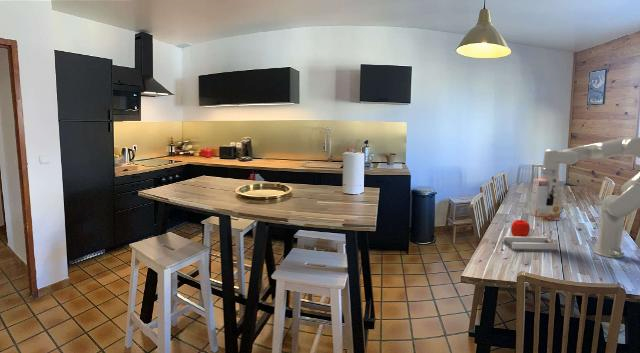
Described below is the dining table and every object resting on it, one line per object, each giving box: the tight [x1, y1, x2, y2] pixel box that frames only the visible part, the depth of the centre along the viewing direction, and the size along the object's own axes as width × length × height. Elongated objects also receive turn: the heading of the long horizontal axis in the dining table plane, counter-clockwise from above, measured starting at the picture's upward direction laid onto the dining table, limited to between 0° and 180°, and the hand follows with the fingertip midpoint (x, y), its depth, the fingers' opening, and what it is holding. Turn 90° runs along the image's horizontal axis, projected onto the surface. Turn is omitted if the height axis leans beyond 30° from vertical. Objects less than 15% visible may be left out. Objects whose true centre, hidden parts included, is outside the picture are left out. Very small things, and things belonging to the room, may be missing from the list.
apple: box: [510, 219, 531, 237], centre depth 209 cm, size 10×10×12 cm
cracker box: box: [529, 178, 565, 218], centre depth 197 cm, size 14×6×21 cm, turn 90°
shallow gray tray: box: [502, 235, 559, 252], centre depth 198 cm, size 12×24×4 cm, turn 89°
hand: (545, 203), depth 198 cm, fingers closed on cracker box, 6 cm apart
